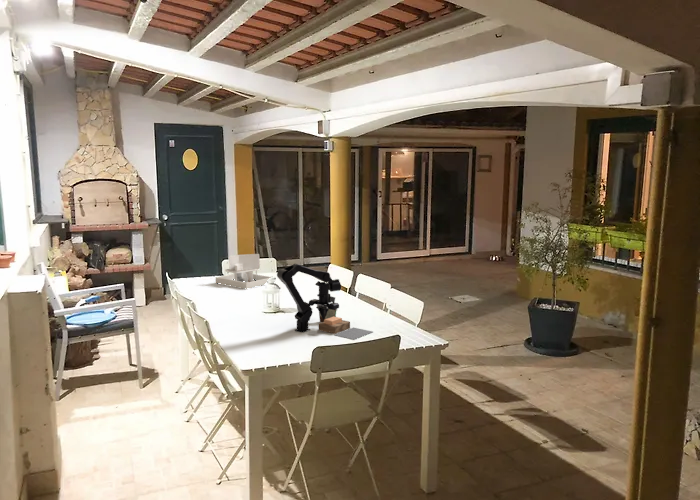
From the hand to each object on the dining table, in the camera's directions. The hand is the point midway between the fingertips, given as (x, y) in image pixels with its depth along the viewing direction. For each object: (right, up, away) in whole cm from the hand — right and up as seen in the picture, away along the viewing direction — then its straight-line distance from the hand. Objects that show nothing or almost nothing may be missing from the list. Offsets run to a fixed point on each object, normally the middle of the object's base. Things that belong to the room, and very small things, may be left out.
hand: (323, 318), depth 325 cm
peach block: (+6, -2, -4) cm, 7 cm away
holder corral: (-69, +13, +123) cm, 142 cm away
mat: (+18, -7, -12) cm, 22 cm away
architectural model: (-69, +12, +123) cm, 142 cm away
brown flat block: (+6, -6, -4) cm, 9 cm away
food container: (+3, -4, +13) cm, 13 cm away
